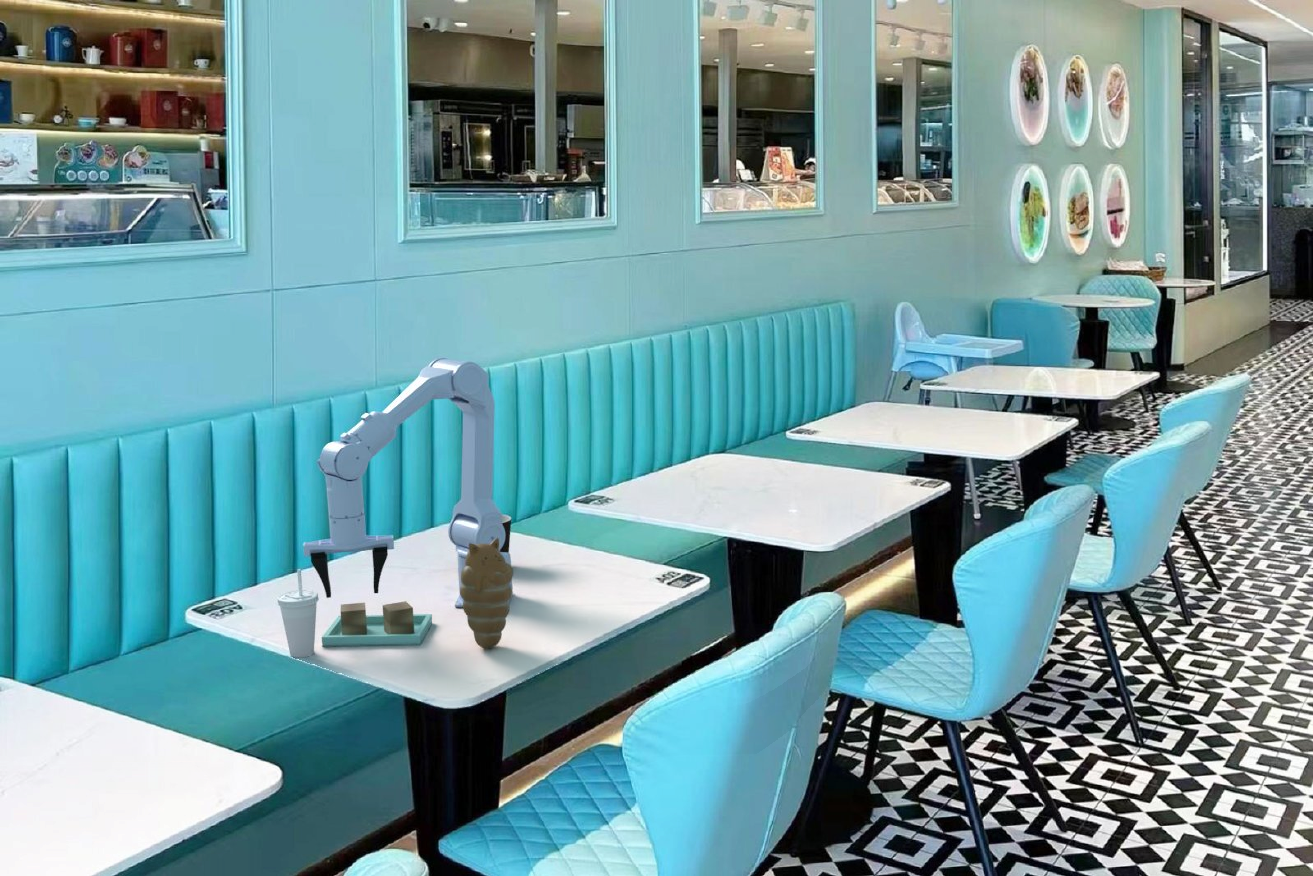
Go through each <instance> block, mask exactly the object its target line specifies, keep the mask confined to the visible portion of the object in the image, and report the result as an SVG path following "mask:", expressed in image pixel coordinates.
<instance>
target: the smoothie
mask: <svg viewBox="0 0 1313 876" xmlns="http://www.w3.org/2000/svg"><path fill="white" fill-rule="evenodd" d="M296 571H297V572H296V573H297V585H298V590H291V591H287V592H286V591H285V592H283V593H281V594H279V596H278V597H277V598H276V599H277V603H276V604H277V606H280V607H279V608H280V613H281V617H282V621H283V627H284V631H285V636H286V641H287V645H288V649H289V651H288V652H289V655H290V657H293V658H305V657H309V656H310V657H311V656H312V655H313V654H314V653H315V641H316V640H315V639H316V637H315V636H316V622H317V604H318V601H319V599H320V598H319V594H318V592H317V591H314V590H309V589H303V582H302V581H303V580H302V569H301V568H299V569H296Z"/></svg>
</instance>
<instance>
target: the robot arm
mask: <svg viewBox="0 0 1313 876" xmlns="http://www.w3.org/2000/svg"><path fill="white" fill-rule="evenodd" d="M446 399H447V400H450V401H451V402H452V403H453V404H454V405H455V406H456V407H458V409H459V410H460V411H462V442H461V443H462V445H461V446H462V447H461V449H462V450H461V453H462V455H461V489H460V491H461V495H460V496H461V497H460V500H459V501H458V502H457V503H456V504H455V505H454V506H453V508H452V510H453V511H452V517H451V520H450V522H449V525H448V537H449V541H450V542H451V543H452V544H453V545H454V546H455V552H456V553H457V569H458V570H457V572H458V587H459V588H458V589H459V592H458V593H459V594H458V597H457V599H456V601H455V603H454V607H455V608H463V601H464V600H463V598H462V597H461V595H460V587H461V585H462V582H461V572H462V570H463V568H464V567H465V560H466V556H467V553H468V552H469V543H471V544H475V545H477V544H483V543H485V544H490V543H491V542H492V541H494V540H495V539H496V538H498V539H499V552H500V549H501V548H502V546H503V544H504V542H505V529H504V527H503V525H502V519H501V518H502V512H501V510H500V509H499V508H498V506H497V505H496V503H495V501H494V500H493V488H494V487H493V485H494V484H493V482H494V481H493V480H494V479H493V477H494V475H493V474H494V444H495V443H494V441H495V399H494V396H493V394H492V392H491V389H490V385H489V373H488V372H487V370H485V369H484V368H482V367H481V365H479V364H478V363H476V362H474V361H462V360H454V359H449V358H446V357H438V358H435V359H433V360H432V361H431V362H430V363H429V364H428V365H426V366H425V367H424V368H422V369H421V370H420V373H419V375H418V376H417V378H416V379H415V380H414V381H413V382H412V383H411V384H409V385H408V386H407V387H406V388H405V389H404V390H403V391H402V392H401V393H400V394H399V395H398V397H397V396H396V398H395V399H394V400H393V401H391V403H390V404H389V405H388V406H387V407H386V408H385V409H384V410H383V411H377V410H376V411H371V412H370V413H367V412H364V414H362V416H360V419H361V421H359V422H358V423H357V424H356V425H354V426H353V427H352V428H351V429H350V430H349V431H347V432H343V433H342V434H341V435H340V439H339V441H337V440H336V441H331V442H329V443H327V444H326V445H325V446H324V447H323V448H322V450H321V453H320V455H319V459H317V460H316V462H317V463H316V464H317V466H318V469H319V470H320V472H322V473H323V475H324V477H325V484H326V497H327V511H328V522H329V537H330V538H327V539H319V540H315V541H308V542H305V541H304V542H303V545H302V548H303V549H302V550H303V557H305V558H308V557H310V562H311V565H312V566H313V568H314V569H315V571H316V572H317V575H318V577H319V578H320V581H321V583H322V585H323V589H324V592H325V597H326V599H329V598H332V588H331V582H330V575H329V564H328V563H329V562H328V555H329V554H337V553H338V554H339V553H340V554H341V553H350V552H360V551H361V552H362V551H363V552H364V551H371V552H372V565H373V593H374V594H379V585H380V581H381V580H380V579H381V575H382V572H383V569H384V565H385V563H386V561H387V559H388V550H394V549H395V542H394V540H395V539H394V535H389V534H387V535H367V533H366V532H367V530H366V520H365V519H366V518H365V507H364V504H365V503H364V491H363V479H362V477H363V476H364V475H365V473H366V472H367V469H368V465H369V462H370V461H371V460H372V458H374V456H376V455H377V454H378V453H379V452H381V450H382V449H384V448H385V447H386V446H387V445H388V444H390V443H391V442H392V441H393V440H394V439H396V436H397V428H398V427H399V426H400V425H401V424H402V423H403V422H405V421H406V420H407V419H409V418H410V417H411V416H413V415H414V414H415V413H417V412H418V411H420V410H421V408H423V407H424V406H426V405H427V404H428V403H430V401H432V400H446ZM500 553H501V554H502V556H503V557H504V559H505V562H506V563H508V564H510V565H511V566H512V559H511V557H512V556H511V554H510V552H509V553H507V552H500ZM512 580H513V579H512ZM512 580H511V582H510V586H511V588H512V595H511V597H510V599H509V600H508V604H509V605H510V601H511V599H512V596H513V593H514V592H513V586H514V585H513V581H512Z"/></svg>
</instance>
